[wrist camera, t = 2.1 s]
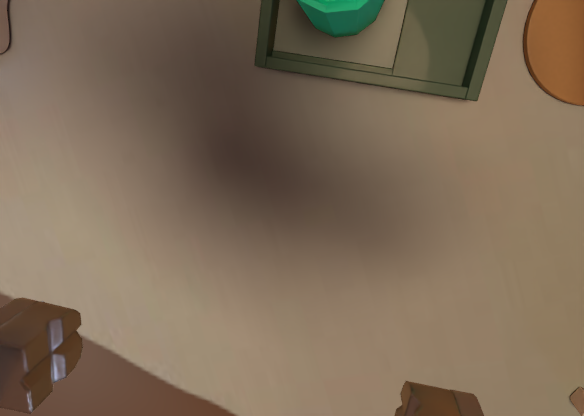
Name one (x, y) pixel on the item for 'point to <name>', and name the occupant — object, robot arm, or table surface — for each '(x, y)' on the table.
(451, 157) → the table surface
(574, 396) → the cable organizer
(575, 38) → the coaster
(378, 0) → the candle
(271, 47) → the tray
